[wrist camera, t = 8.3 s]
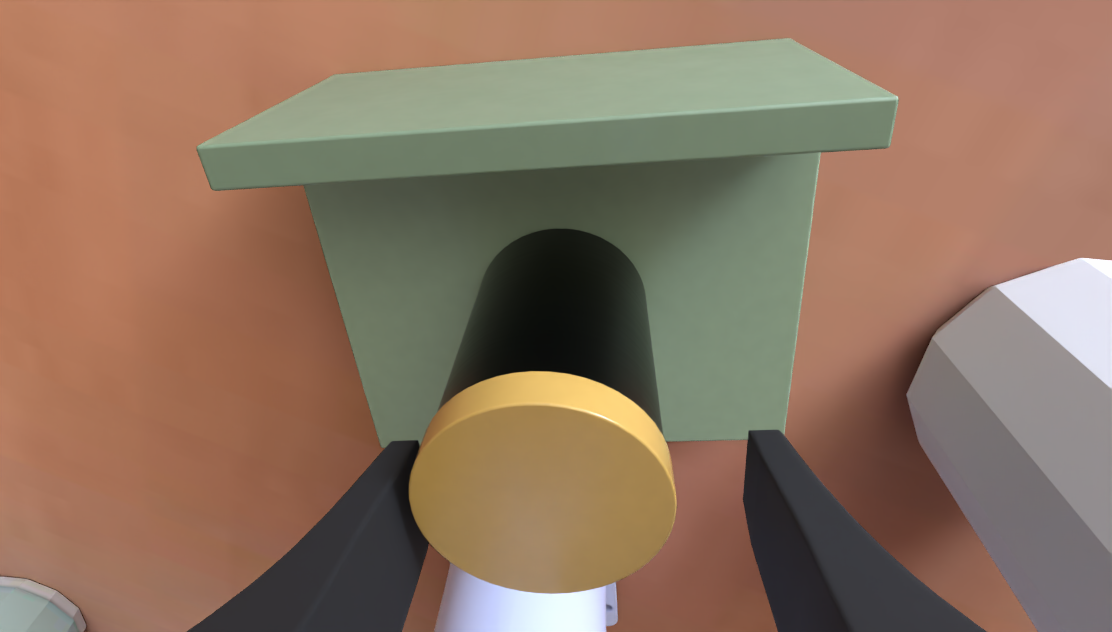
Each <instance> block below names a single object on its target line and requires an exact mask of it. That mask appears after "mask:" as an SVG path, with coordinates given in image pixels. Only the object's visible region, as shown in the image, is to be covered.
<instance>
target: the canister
mask: <svg viewBox="0 0 1112 632" xmlns="http://www.w3.org/2000/svg"><path fill="white" fill-rule="evenodd" d="M409 501H410V506H411V511H412V514H413V516H414V519H415V522H416V524H417V525H418V527H419V529H420V531H421V533H422V534H423V535H424V537H425V538H426V539H427V541H428V542H429V543H430V545H431V546H432V547H433V548H434V549H435V550H436V551H437V552H438V553H439V554H440V555H442V556H443V557H444V558H445V559H447V560H448V561H449V562H450V563H452V564H453V565H455V566H456V567H458V568H460V569H461V570H463V571H464V572H466V573H468V574H470V575H472V576H474V577H476V578H479V579H481V580H484V581H486V582H489V583H491V584H494V585H498V586H501V587H504V588H508V589H513V590H518V591H523V592H531V593H544V594H561V593H574V592H581V591H587V590H591V589H596V588H600V587H603V586H606V585H609V584H612V583H614V582H617V581H619V580H621V579H623V578H626V577H627V576H629V575H631V574H633V573H634V572H636V571H638V570H639V569H640V568H642V567H643V566H644V565H646V564H647V563H648V562H649V561H650V560H651V559H652V558H653V557H654V556H655V555H656V554H657V553H658V552H659V551H660V549H661V548H662V547H663V545H664V544H665V543H666V541H667V539H668V537H669V535H670V533H671V531H672V528H673V525H674V521H675V518H676V509H677V501H676V490H675V483H674V476H673V468H672V461H671V456H670V452H669V449H668V446H667V443H666V441H665V439H664V437H663V430H662V422H661V414H660V406H659V398H658V390H657V382H656V374H655V366H654V358H653V350H652V342H651V334H650V326H649V318H648V310H647V302H646V294H645V289H644V285H643V282H642V280H641V277H640V275H639V273H638V271H637V269H636V268H635V266H634V264H633V263H632V262H631V261H630V259H629V258H628V257H627V256H626V255H625V254H624V253H623V252H622V251H621V250H620V249H618V248H617V247H616V246H614V245H613V244H612V243H610V242H608V241H606V240H605V239H603V238H601V237H598V236H596V235H593V234H591V233H587V232H584V231H580V230H573V229H548V230H542V231H538V232H533V233H531V234H528V235H525V236H523V237H521V238H519V239H517V240H515V241H513V242H512V243H510V244H509V245H508V246H506V247H505V248H504V249H503V250H502V251H501V252H500V253H499V254H498V255H497V256H496V257H495V258H494V259H493V261H492V262H491V263H490V265H489V267H488V269H487V270H486V272H485V275H484V278H483V280H482V283H481V286H480V289H479V292H478V295H477V297H476V300H475V303H474V306H473V309H472V312H471V315H470V318H469V321H468V324H467V327H466V329H465V332H464V335H463V338H462V341H461V344H460V347H459V350H458V353H457V356H456V359H455V361H454V364H453V367H452V370H451V373H450V376H449V379H448V382H447V385H446V388H445V390H444V393H443V396H442V399H441V402H440V405H439V408H438V411H437V413H436V414H435V416H434V417H433V418H432V420H431V422H430V423H429V425H428V427H427V429H426V431H425V434H424V437H423V439H422V442H421V445H420V448H419V450H418V453H417V456H416V459H415V462H414V465H413V467H412V470H411V474H410V479H409Z"/></svg>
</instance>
